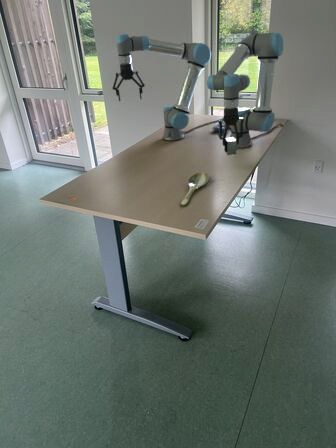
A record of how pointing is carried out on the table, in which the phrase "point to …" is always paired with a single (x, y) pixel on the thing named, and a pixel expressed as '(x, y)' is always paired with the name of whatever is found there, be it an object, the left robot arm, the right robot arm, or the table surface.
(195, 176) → the spoon
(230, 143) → the brick
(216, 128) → the spray gun
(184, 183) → the table surface
